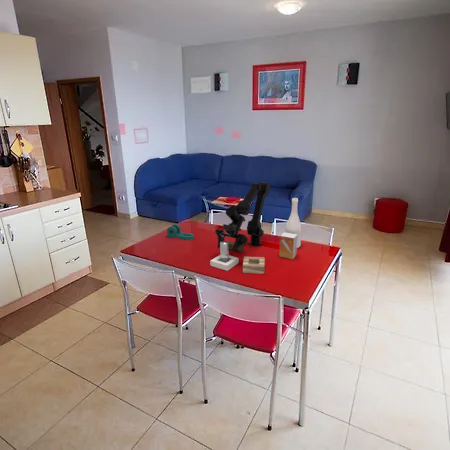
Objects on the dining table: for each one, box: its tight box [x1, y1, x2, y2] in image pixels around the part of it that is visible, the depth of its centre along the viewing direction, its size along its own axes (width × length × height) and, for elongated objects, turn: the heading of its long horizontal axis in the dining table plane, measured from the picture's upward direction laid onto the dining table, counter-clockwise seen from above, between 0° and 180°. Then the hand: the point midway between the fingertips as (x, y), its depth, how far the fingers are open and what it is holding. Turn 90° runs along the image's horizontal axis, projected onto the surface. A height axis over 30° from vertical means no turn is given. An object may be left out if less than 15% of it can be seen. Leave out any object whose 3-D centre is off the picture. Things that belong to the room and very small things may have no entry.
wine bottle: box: [284, 197, 302, 249], centre depth 189 cm, size 10×10×30 cm
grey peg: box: [219, 240, 230, 263], centre depth 170 cm, size 4×4×13 cm
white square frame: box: [209, 254, 240, 272], centre depth 172 cm, size 11×11×3 cm
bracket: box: [166, 223, 195, 241], centre depth 211 cm, size 18×7×8 cm, turn 68°
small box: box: [278, 231, 298, 260], centre depth 178 cm, size 8×6×13 cm
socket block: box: [242, 256, 265, 275], centre depth 166 cm, size 11×11×4 cm
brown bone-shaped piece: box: [227, 240, 249, 253], centre depth 192 cm, size 6×10×20 cm
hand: (225, 249), depth 170 cm, fingers open, 9 cm apart
